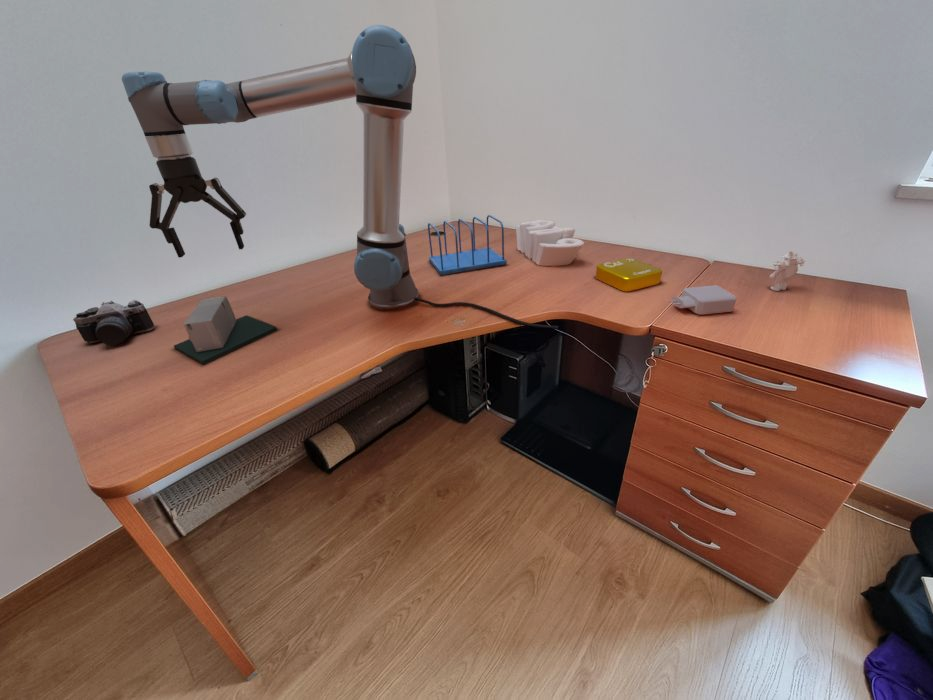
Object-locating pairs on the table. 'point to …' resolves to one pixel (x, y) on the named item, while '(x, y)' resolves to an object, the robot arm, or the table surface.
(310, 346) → the table surface
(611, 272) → the element tile
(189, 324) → the cosmetic box
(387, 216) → the robot arm
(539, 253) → the wavy white extrusion
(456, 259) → the file sorter
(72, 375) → the table surface
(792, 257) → the hat wearing toy figure
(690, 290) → the charger
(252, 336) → the desk mat
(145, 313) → the camera
